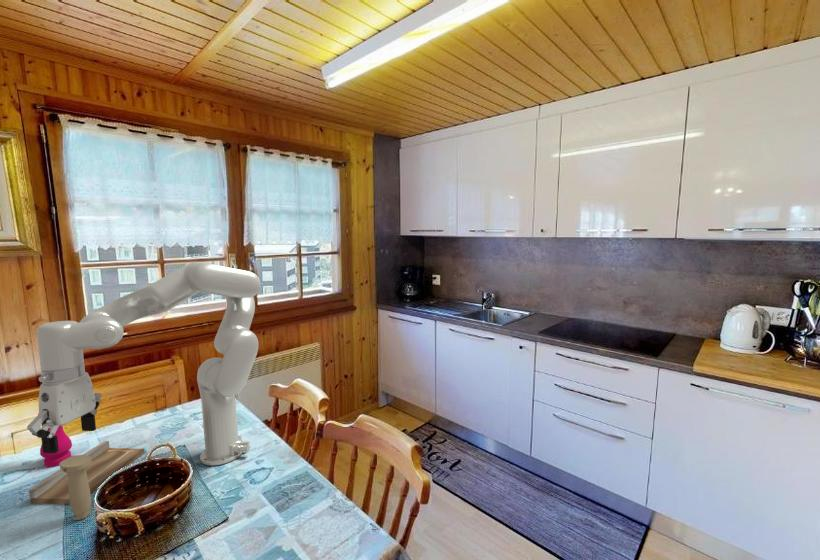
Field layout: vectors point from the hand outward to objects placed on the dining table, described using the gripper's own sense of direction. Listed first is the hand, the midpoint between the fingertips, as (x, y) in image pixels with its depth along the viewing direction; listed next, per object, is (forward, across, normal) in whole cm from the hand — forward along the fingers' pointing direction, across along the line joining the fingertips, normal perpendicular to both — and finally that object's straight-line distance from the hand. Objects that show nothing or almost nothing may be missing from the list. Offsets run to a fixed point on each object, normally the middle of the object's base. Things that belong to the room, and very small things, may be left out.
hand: (71, 440), depth 90 cm
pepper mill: (+21, +22, +29) cm, 42 cm away
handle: (+21, 0, 0) cm, 21 cm away
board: (+20, +16, +11) cm, 28 cm away
